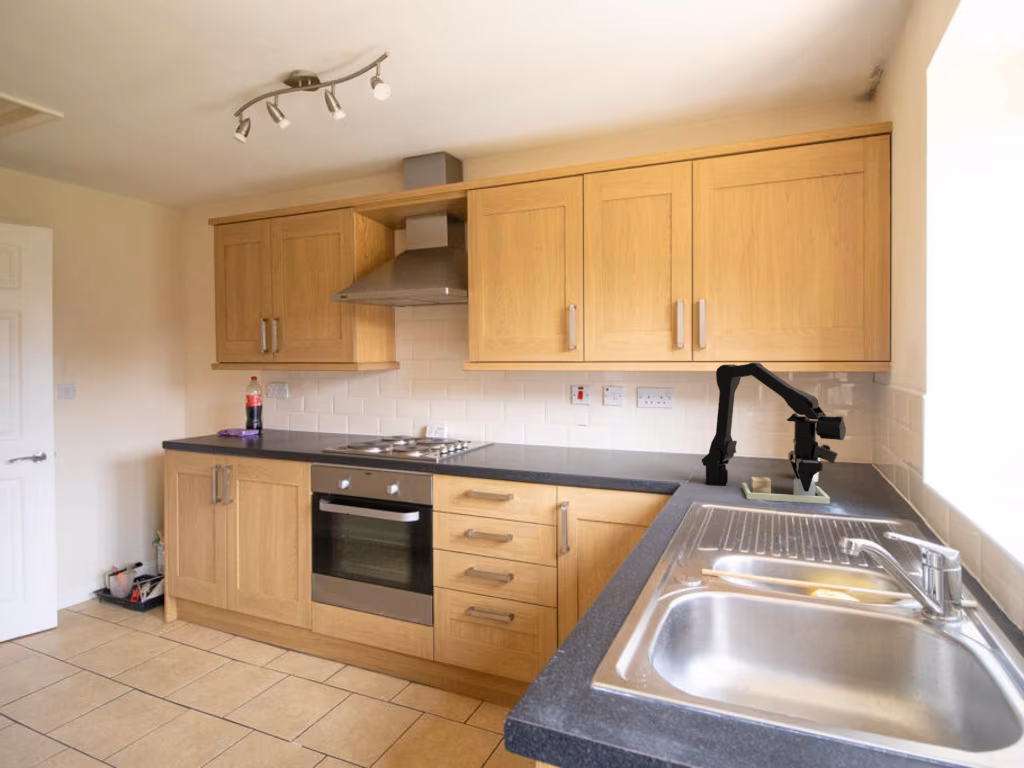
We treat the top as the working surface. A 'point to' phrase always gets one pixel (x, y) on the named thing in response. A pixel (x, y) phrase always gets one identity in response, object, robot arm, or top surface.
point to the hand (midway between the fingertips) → (804, 488)
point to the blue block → (800, 491)
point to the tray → (789, 496)
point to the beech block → (760, 485)
